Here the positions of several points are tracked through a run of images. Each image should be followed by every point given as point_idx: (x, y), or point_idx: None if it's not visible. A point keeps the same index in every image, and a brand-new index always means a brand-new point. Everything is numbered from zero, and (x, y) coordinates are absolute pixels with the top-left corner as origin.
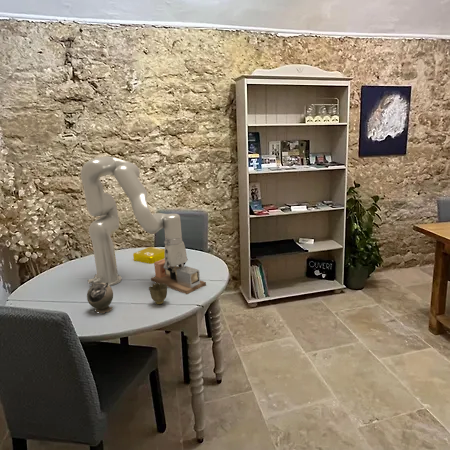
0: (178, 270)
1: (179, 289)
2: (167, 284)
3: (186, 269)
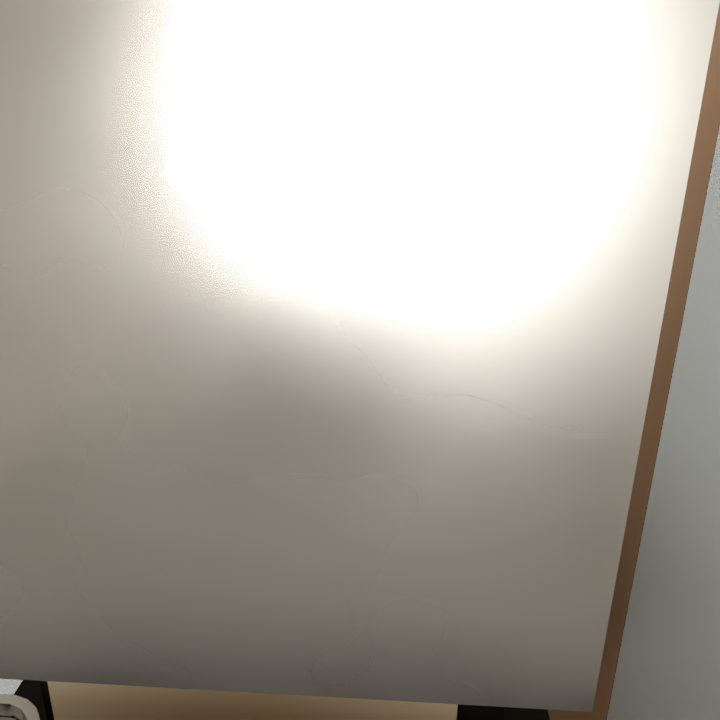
0: (619, 548)
1: (717, 79)
2: (632, 554)
3: (190, 225)
